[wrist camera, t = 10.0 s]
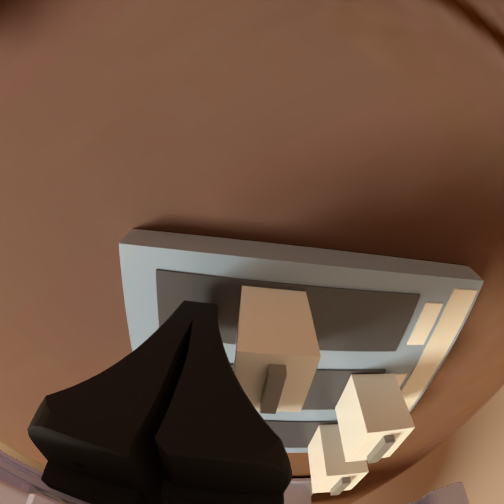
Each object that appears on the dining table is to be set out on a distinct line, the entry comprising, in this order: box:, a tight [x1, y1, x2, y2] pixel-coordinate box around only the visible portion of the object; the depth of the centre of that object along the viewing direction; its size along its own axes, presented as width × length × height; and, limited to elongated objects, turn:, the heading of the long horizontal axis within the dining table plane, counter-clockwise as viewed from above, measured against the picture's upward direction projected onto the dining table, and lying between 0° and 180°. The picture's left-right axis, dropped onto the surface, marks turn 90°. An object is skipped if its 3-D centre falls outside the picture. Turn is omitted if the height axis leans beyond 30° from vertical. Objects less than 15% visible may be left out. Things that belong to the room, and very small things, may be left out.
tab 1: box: [233, 286, 321, 414], centre depth 10 cm, size 3×2×4 cm
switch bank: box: [119, 229, 484, 453], centre depth 15 cm, size 14×16×2 cm
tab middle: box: [335, 373, 415, 463], centre depth 13 cm, size 3×2×4 cm
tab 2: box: [308, 424, 369, 495], centre depth 14 cm, size 3×2×4 cm
